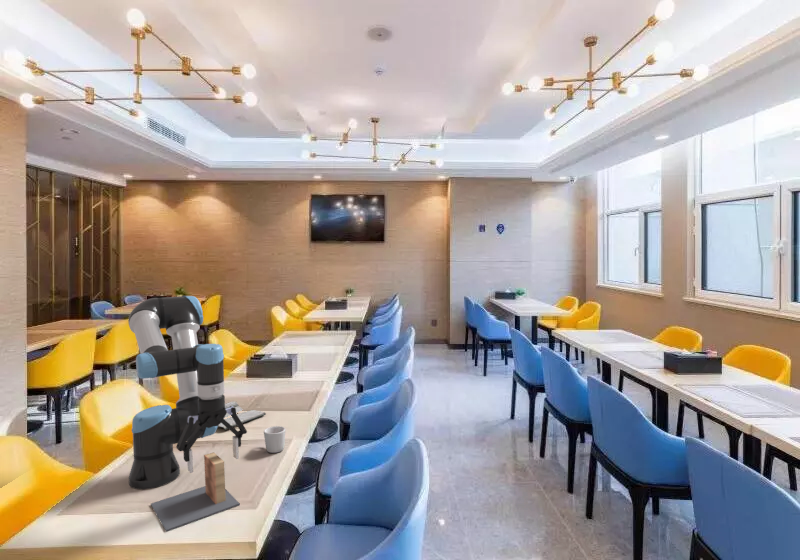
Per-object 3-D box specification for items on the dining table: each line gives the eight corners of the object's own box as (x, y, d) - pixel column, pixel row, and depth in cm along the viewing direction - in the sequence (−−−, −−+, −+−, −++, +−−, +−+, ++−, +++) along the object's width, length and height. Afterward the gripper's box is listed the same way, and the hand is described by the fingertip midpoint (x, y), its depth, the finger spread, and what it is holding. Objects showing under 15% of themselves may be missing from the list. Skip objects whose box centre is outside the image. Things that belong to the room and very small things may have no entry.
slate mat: (150, 505, 139) (150, 503, 139) (218, 483, 152) (218, 481, 152) (166, 531, 126) (166, 530, 126) (239, 505, 138) (239, 503, 138)
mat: (224, 434, 196) (224, 422, 196) (189, 424, 208) (188, 414, 208) (266, 416, 216) (266, 406, 216) (232, 409, 228) (231, 399, 228)
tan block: (205, 492, 145) (204, 455, 145) (215, 489, 147) (213, 452, 147) (215, 504, 138) (213, 464, 138) (225, 500, 140) (224, 461, 140)
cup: (257, 448, 179) (256, 428, 179) (275, 442, 185) (274, 422, 184) (271, 456, 172) (270, 435, 171) (290, 450, 177) (289, 429, 177)
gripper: (170, 408, 130) (173, 482, 132) (256, 390, 146) (258, 456, 148) (163, 401, 136) (166, 472, 137) (246, 385, 152) (248, 448, 153)
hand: (213, 464), depth 143 cm, fingers open, 13 cm apart
